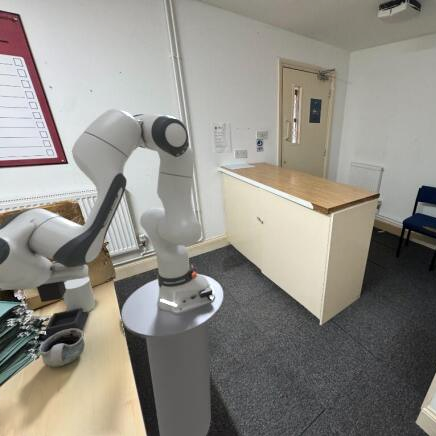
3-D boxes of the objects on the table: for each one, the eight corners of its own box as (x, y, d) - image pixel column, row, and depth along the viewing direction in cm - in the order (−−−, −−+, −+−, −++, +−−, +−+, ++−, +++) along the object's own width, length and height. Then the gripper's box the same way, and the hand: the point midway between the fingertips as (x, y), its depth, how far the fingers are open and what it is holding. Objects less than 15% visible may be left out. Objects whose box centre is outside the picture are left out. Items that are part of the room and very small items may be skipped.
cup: (100, 302, 94) (95, 277, 90) (80, 317, 87) (73, 290, 83) (83, 299, 95) (77, 274, 91) (61, 312, 88) (54, 286, 84)
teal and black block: (66, 290, 74) (59, 265, 71) (61, 298, 70) (54, 273, 67) (47, 293, 72) (39, 268, 69) (41, 302, 68) (33, 276, 65)
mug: (85, 339, 78) (79, 316, 75) (91, 366, 70) (84, 341, 67) (44, 356, 72) (36, 331, 68) (45, 387, 64) (35, 361, 60)
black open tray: (88, 314, 88) (86, 306, 87) (82, 332, 81) (79, 323, 80) (52, 321, 84) (50, 313, 82) (42, 341, 76) (39, 332, 75)
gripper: (81, 253, 65) (95, 265, 76) (-32, 265, 55) (4, 277, 66) (79, 275, 63) (94, 284, 74) (-38, 292, 53) (0, 300, 64)
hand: (51, 281), depth 70 cm, fingers closed on teal and black block, 4 cm apart
